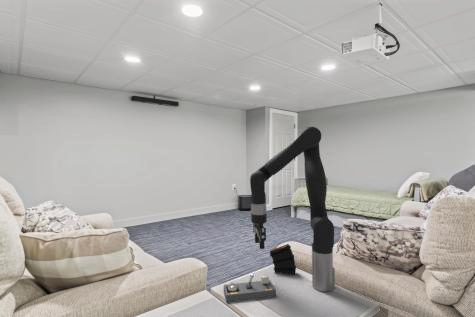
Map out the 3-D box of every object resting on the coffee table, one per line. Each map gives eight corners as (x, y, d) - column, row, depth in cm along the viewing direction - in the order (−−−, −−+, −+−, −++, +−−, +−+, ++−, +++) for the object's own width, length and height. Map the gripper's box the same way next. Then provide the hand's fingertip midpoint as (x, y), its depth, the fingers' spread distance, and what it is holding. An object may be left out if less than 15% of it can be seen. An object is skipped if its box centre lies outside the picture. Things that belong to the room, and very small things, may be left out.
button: (236, 288, 119) (236, 282, 119) (238, 293, 115) (238, 287, 115) (227, 289, 119) (227, 283, 119) (228, 294, 114) (228, 288, 114)
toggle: (250, 283, 119) (253, 274, 119) (251, 285, 117) (254, 275, 118) (247, 282, 119) (250, 273, 119) (248, 284, 117) (251, 274, 117)
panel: (269, 286, 125) (269, 278, 124) (275, 296, 116) (275, 288, 116) (223, 291, 121) (223, 283, 121) (226, 302, 112) (226, 293, 112)
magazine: (301, 273, 134) (288, 245, 136) (278, 281, 138) (265, 254, 139) (301, 270, 138) (289, 243, 139) (279, 277, 141) (267, 251, 143)
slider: (267, 281, 123) (267, 275, 123) (269, 283, 121) (268, 277, 121) (261, 281, 122) (261, 275, 122) (262, 283, 120) (262, 277, 120)
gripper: (270, 215, 121) (271, 250, 121) (262, 208, 135) (262, 240, 135) (255, 216, 120) (255, 251, 120) (247, 209, 134) (248, 241, 134)
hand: (259, 245), depth 128 cm, fingers open, 8 cm apart
